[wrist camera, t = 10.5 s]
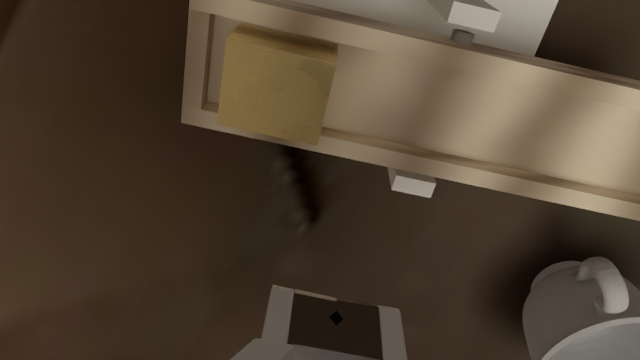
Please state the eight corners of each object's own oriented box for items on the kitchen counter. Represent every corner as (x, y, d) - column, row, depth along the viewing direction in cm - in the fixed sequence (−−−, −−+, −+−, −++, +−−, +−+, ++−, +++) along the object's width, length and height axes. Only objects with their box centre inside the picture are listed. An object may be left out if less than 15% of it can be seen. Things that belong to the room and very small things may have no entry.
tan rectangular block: (338, 44, 25) (336, 63, 22) (321, 119, 27) (317, 145, 24) (241, 21, 24) (226, 37, 21) (231, 99, 26) (216, 124, 23)
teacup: (639, 186, 37) (729, 270, 29) (635, 321, 44) (707, 423, 35) (481, 218, 39) (520, 306, 31) (501, 343, 46) (537, 444, 38)
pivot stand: (556, -11, 31) (626, 15, 23) (480, 165, 37) (516, 231, 29) (262, -81, 30) (233, -78, 22) (237, 113, 36) (207, 168, 28)
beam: (677, 72, 28) (735, 101, 24) (608, 188, 32) (647, 230, 28) (216, -35, 26) (191, -25, 22) (203, 100, 30) (180, 131, 26)
